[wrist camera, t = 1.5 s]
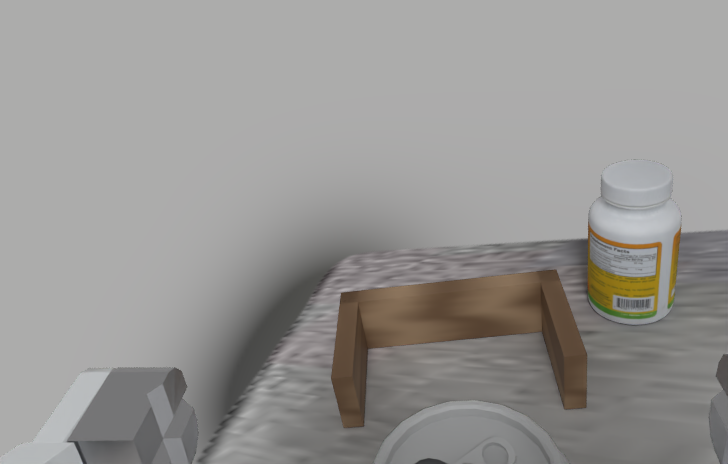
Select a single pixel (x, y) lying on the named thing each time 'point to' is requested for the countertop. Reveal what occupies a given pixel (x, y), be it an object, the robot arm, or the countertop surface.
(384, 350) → the countertop surface
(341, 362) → the corral
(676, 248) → the supplement bottle
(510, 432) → the can
